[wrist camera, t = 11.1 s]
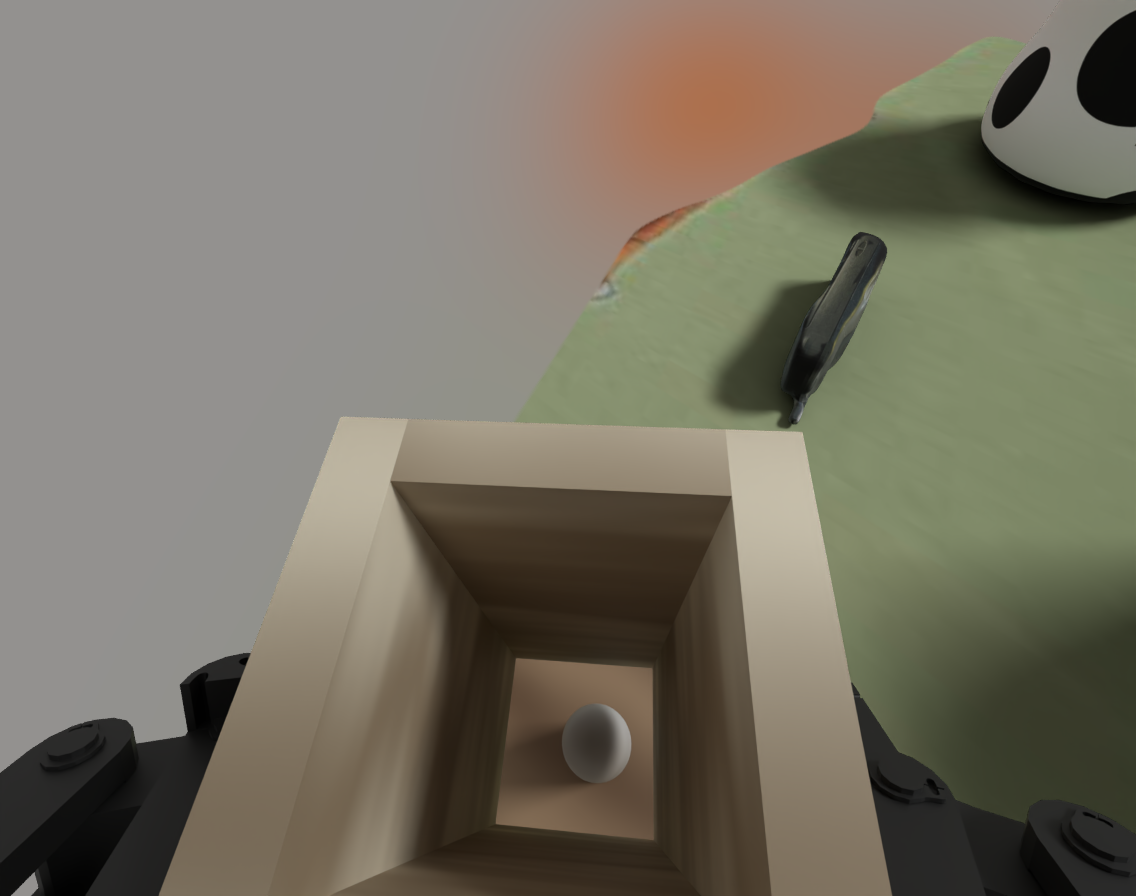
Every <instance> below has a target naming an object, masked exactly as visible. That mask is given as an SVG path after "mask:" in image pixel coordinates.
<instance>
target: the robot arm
mask: <svg viewBox="0 0 1136 896" xmlns="http://www.w3.org/2000/svg"><path fill="white" fill-rule="evenodd" d="M250 654H251V653H243V654H238V655H233V656H228V657H225V658H222V659H220V660H217V661H214V662H212V663H209V664H207V665H205V666H203V667H202V668H200V669H198V670H197V671H195V672H193V673H192V674H191V675H190V676H188V677H187V678H186V679H185V680H184V681H183V682H182V683H181V684H180V688H181V694H182V700H183V706H184V712H185V718H186V724H187V730H188V732H187V734H186V736H182V737H176V738H170V739H163V740H157V741H151V742H145V743H138V744H136V741H135V736H134V731H133V727H132V726H131V725H130V724H129V723H128V722H127V721H126V720H122V719H116V718H108V719H99V720H93V721H88V722H84V723H83V724H78V725H75V726H72V727H70V728H68V729H66V730H64V731H62V732H59V733H57V734H55V735H53V736H51V737H49V738H47V739H46V740H44V741H43V742H41V743H40V744H38V745H37V746H35V747H33V748H32V749H30V750H29V751H28V752H26V753H25V754H24V755H23V756H21V757H20V758H19V759H18V760H16V761H15V762H14V763H12V764H11V765H10V766H9V767H7V768H6V769H5V770H3V771H2V772H1V773H0V896H11V895H12V894H13V893H14V892H15V891H16V890H17V889H18V888H19V887H20V886H21V885H22V884H23V883H24V882H25V881H26V880H27V879H28V878H29V877H30V876H31V875H32V874H33V873H34V872H35V876H36V879H37V883H38V887H39V888H38V889H37V890H36V891H35V892H34V894H33V895H32V896H159V893H160V891H161V888H162V885H163V883H164V880H165V878H166V875H167V872H168V870H169V867H170V864H171V862H172V859H173V856H174V854H175V851H176V849H177V846H178V843H179V841H180V838H181V835H182V833H183V830H184V828H185V825H186V822H187V820H188V817H189V814H190V812H191V809H192V807H193V804H194V801H195V799H196V796H197V793H198V791H199V788H200V786H201V783H202V780H203V778H204V775H205V772H206V770H207V767H208V764H209V762H210V759H211V757H212V754H213V751H214V749H215V746H216V743H217V741H218V738H219V736H220V733H221V730H222V728H223V725H224V722H225V720H226V717H227V715H228V712H229V709H230V707H231V704H232V701H233V699H234V696H235V694H236V691H237V688H238V686H239V683H240V680H241V678H242V675H243V672H244V670H245V667H246V665H247V662H248V659H249V657H250ZM851 686H852V691H853V696H854V701H855V706H856V712H857V717H858V722H859V727H860V732H861V737H862V743H863V748H864V753H865V758H866V763H867V768H868V774H869V779H870V784H871V789H872V794H873V799H874V805H875V810H876V815H877V820H878V825H879V830H880V836H881V841H882V846H883V851H884V856H885V861H886V867H887V872H888V877H889V882H890V887H891V892H892V896H1136V835H1135V834H1134V833H1132V832H1131V831H1129V830H1128V829H1126V828H1124V827H1123V826H1121V825H1120V824H1118V823H1117V822H1115V821H1113V820H1112V819H1110V818H1108V817H1106V816H1103V815H1102V814H1100V813H1097V812H1095V811H1092V810H1090V809H1088V808H1086V807H1084V806H1080V805H1076V804H1072V803H1069V802H1065V801H1061V800H1040V801H1038V802H1036V803H1035V804H1033V805H1031V806H1030V807H1029V811H1028V815H1027V819H1026V823H1025V824H1024V823H1021V822H1018V821H1015V820H1012V819H1009V818H1006V817H1003V816H1000V815H997V814H994V813H990V812H987V811H984V810H981V809H978V808H975V807H972V806H970V805H967V804H965V803H962V802H960V801H957V800H955V799H954V797H953V795H952V793H951V791H950V790H949V788H948V786H947V785H946V784H945V783H944V782H943V781H942V780H941V779H940V778H939V777H938V776H937V775H936V774H935V773H934V772H933V771H932V770H931V769H929V768H928V767H926V766H924V765H923V764H921V763H920V762H918V761H917V760H915V759H913V758H912V757H909V756H907V755H904V754H902V753H899V752H898V751H897V750H896V748H895V747H894V745H893V744H892V742H891V741H890V739H889V738H888V736H887V735H886V733H885V731H884V730H883V728H882V727H881V725H880V724H879V722H878V721H877V719H876V718H875V716H874V715H873V713H872V712H871V710H870V709H869V707H868V706H867V704H866V703H865V701H864V700H863V698H860V694H859V692H858V691H857V689H856V688H855V686H854V685H853V683H851Z"/></svg>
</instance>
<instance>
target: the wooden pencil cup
mask: <svg viewBox="0 0 1136 896" xmlns="http://www.w3.org/2000/svg"><path fill="white" fill-rule="evenodd" d="M516 658H519V659H533V660H546V661H560V662H573V663H587V664H601V665H614V666H628V667H642V668H652V673H653V810H654V840H648V839H638V838H628V837H618V836H608V835H599V834H589V833H579V832H569V831H559V830H549V829H540V828H530V827H520V826H510V825H500V824H496V816H497V808H498V800H499V792H500V784H501V776H502V768H503V760H504V752H505V744H506V736H507V728H508V719H509V711H510V703H511V695H512V687H513V679H514V671H515V663H516ZM159 896H892V892H891V887H890V882H889V877H888V872H887V867H886V861H885V856H884V851H883V846H882V841H881V836H880V830H879V825H878V820H877V815H876V810H875V805H874V799H873V794H872V789H871V784H870V779H869V774H868V768H867V763H866V758H865V753H864V748H863V743H862V737H861V732H860V727H859V722H858V717H857V712H856V706H855V701H854V696H853V691H852V686H851V681H850V675H849V670H848V665H847V660H846V655H845V650H844V644H843V639H842V634H841V629H840V624H839V619H838V613H837V608H836V603H835V598H834V593H833V588H832V582H831V577H830V572H829V567H828V562H827V557H826V551H825V546H824V541H823V536H822V531H821V526H820V520H819V515H818V510H817V505H816V500H815V495H814V489H813V484H812V479H811V474H810V469H809V464H808V458H807V453H806V448H805V443H804V438H803V433H802V432H784V431H754V430H724V429H694V428H664V427H634V426H603V425H573V424H543V423H513V422H483V421H451V420H423V419H393V418H363V417H361V418H360V417H341V418H340V420H339V423H338V425H337V428H336V431H335V433H334V436H333V439H332V441H331V444H330V446H329V449H328V452H327V454H326V457H325V460H324V462H323V465H322V468H321V470H320V473H319V476H318V478H317V481H316V483H315V486H314V488H313V491H312V494H311V497H310V500H309V502H308V504H307V507H306V510H305V513H304V515H303V518H302V520H301V523H300V525H299V528H298V531H297V533H296V536H295V539H294V541H293V544H292V546H291V549H290V552H289V554H288V557H287V559H286V562H285V565H284V567H283V570H282V573H281V575H280V578H279V580H278V583H277V586H276V588H275V591H274V594H273V597H272V599H271V602H270V604H269V607H268V609H267V612H266V615H265V617H264V620H263V623H262V625H261V628H260V630H259V633H258V636H257V639H256V641H255V644H254V646H253V649H252V651H251V654H250V657H249V659H248V662H247V665H246V667H245V670H244V672H243V675H242V678H241V680H240V683H239V686H238V688H237V691H236V694H235V696H234V699H233V701H232V704H231V707H230V709H229V712H228V715H227V717H226V720H225V722H224V725H223V728H222V730H221V733H220V736H219V738H218V741H217V743H216V746H215V749H214V751H213V754H212V757H211V759H210V762H209V764H208V767H207V770H206V772H205V775H204V778H203V780H202V783H201V786H200V788H199V791H198V793H197V796H196V799H195V801H194V804H193V807H192V809H191V812H190V814H189V817H188V820H187V822H186V825H185V828H184V830H183V833H182V835H181V838H180V841H179V843H178V846H177V849H176V851H175V854H174V856H173V859H172V862H171V864H170V867H169V870H168V872H167V875H166V878H165V880H164V883H163V885H162V888H161V891H160V893H159Z"/></svg>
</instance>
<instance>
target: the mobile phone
mask: <svg viewBox="0 0 1136 896" xmlns="http://www.w3.org/2000/svg"><path fill="white" fill-rule="evenodd" d="M886 255H887V248H886V246H885V244H884V242H883V241H882V240H881V239H880V238H878V237H876V236H874V235H871V234H868V233H864V232H859V233H858V234H856V235H855V236H854V237H853V238H852V239H851V241H850V243H849V245H848V247H847V249H846V251H845V254H844V256H843V258H842V260H841V263H840V265H839V266H838V268H837V270H836V272H835V274H834V276H833V278H832V280H831V282H830V284H829V286H828V288H827V289H826V290H825V291H824V292H823V294H822V295H821V296H820V297H819V299H818V300H817V301H816V302H815V303H814V304H813V305H812V307H811V308H810V310H809V311H808V313H807V315H806V317H805V319H804V321H803V323H802V325H801V327H800V330H799V332H798V334H797V337H796V339H795V341H794V344H793V346H792V348H791V350H790V353H789V355H788V357H787V360H786V363H785V366H784V370H783V374H782V378H781V384H780V385H781V389H782V391H784V392H786V393H788V394H789V395H791V396H792V397H793V399H794V407H793V409H792V412H791V414H790V416H789V419H788V420H789V422H790V423H792V424H797V423H798V422H799V420H800V418H801V416H802V413H803V410H804V407H805V404H806V402H807V400H808V398H809V397H810V395H811V394H813V393H814V392H815V391H816V390H817V389H818V387H819V385H820V384H821V382H822V380H823V378H824V376H825V375H826V373H827V371H828V370H829V369H830V368H831V367H833V366H834V365H835V364H836V363H837V361H838V360H839V359H840V357H841V356H842V354H843V352H844V350H845V349H846V347H847V345H848V343H849V341H850V339H851V338H852V336H853V334H854V332H855V329H856V327H857V325H858V323H859V321H860V318H861V316H862V314H863V312H864V310H865V308H866V305H867V303H868V300H869V297H870V294H871V292H872V290H873V288H874V285H875V283H876V281H877V279H878V276H879V274H880V271H881V269H882V266H883V264H884V261H885V259H886Z"/></svg>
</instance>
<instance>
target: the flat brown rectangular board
mask: <svg viewBox="0 0 1136 896" xmlns="http://www.w3.org/2000/svg"><path fill="white" fill-rule="evenodd" d="M496 824H500V825H510V826H520V827H530V828H540V829H549V830H559V831H569V832H579V833H589V834H599V835H608V836H618V837H628V838H638V839H648V840H654V810H653V673H652V668H642V667H628V666H614V665H601V664H587V663H573V662H560V661H546V660H533V659H519V658H516V663H515V671H514V679H513V687H512V695H511V703H510V711H509V719H508V728H507V736H506V744H505V752H504V760H503V768H502V776H501V784H500V792H499V800H498V808H497V816H496Z"/></svg>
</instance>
